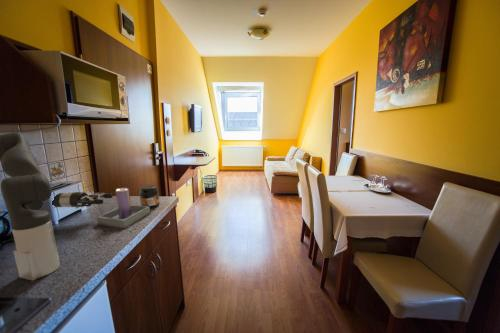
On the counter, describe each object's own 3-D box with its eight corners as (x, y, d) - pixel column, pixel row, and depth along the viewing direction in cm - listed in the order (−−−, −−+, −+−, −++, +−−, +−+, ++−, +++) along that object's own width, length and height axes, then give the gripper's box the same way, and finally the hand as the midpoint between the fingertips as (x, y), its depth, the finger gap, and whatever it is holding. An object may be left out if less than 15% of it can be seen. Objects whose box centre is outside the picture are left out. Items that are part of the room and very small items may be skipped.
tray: (124, 228, 104) (123, 220, 104) (98, 224, 108) (96, 217, 108) (150, 213, 121) (149, 206, 121) (126, 210, 126) (125, 204, 125)
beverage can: (125, 219, 112) (122, 191, 109) (116, 218, 113) (112, 190, 110) (134, 214, 117) (131, 188, 114) (125, 213, 119) (121, 187, 116)
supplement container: (152, 209, 127) (150, 190, 124) (136, 208, 129) (134, 188, 127) (163, 203, 137) (161, 184, 135) (148, 202, 139) (146, 184, 137)
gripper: (62, 197, 103) (98, 196, 104) (82, 188, 117) (113, 187, 118) (64, 212, 105) (100, 210, 106) (84, 201, 118) (115, 200, 120)
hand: (107, 198), depth 112 cm, fingers open, 8 cm apart
